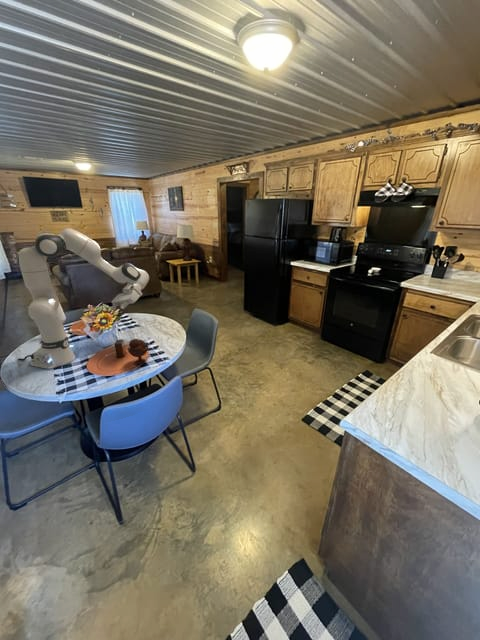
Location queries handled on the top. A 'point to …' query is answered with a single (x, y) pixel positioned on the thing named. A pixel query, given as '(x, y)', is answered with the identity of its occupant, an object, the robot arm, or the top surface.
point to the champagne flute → (61, 316)
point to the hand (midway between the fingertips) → (116, 309)
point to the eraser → (120, 348)
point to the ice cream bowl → (138, 350)
